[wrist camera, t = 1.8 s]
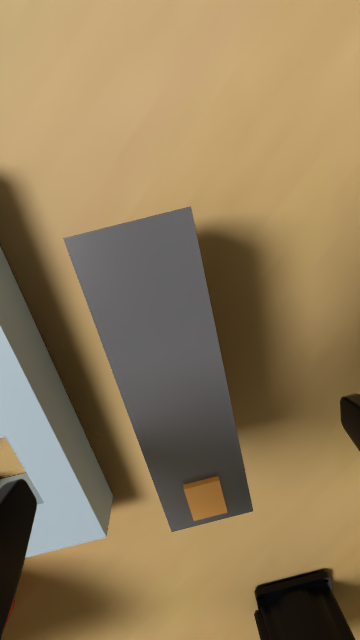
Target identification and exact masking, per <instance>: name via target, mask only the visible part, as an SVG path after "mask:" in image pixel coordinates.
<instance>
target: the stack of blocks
mask: <svg viewBox="0 0 360 640" xmlns="http://www.w3.org/2000/svg"><path fill="white" fill-rule="evenodd" d="M14 603H15V600H14V599H13V603H12V606H11V609H10V612H9V615H8V618H9V616H10V613H11V611H12V608H13V606H14ZM8 618H7V621H8ZM7 621H6V623H7ZM5 626H6V625H5Z"/></svg>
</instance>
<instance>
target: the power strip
mask: <svg viewBox="0 0 360 640" xmlns="http://www.w3.org/2000/svg"><path fill="white" fill-rule="evenodd" d="M63 239H64V242H65V244H66V247H67V250H68V252H69V255H70V258H71V261H72V263H73V266H74V269H75V271H76V274H77V277H78V279H79V282H80V285H81V288H82V290H83V293H84V296H85V298H86V301H87V304H88V307H89V309H90V312H91V315H92V317H93V320H94V323H95V325H96V328H97V331H98V334H99V336H100V339H101V342H102V344H103V347H104V350H105V353H106V355H107V358H108V361H109V363H110V366H111V369H112V371H113V374H114V377H115V380H116V382H117V385H118V388H119V390H120V393H121V396H122V399H123V401H124V404H125V407H126V409H127V412H128V415H129V417H130V420H131V423H132V426H133V428H134V431H135V434H136V436H137V439H138V442H139V445H140V447H141V450H142V453H143V455H144V458H145V461H146V463H147V466H148V469H149V472H150V474H151V477H152V480H153V482H154V485H155V488H156V491H157V493H158V496H159V499H160V501H161V504H162V507H163V509H164V512H165V515H166V518H167V520H168V523H169V526H170V528H171V531H172V532H174V531H177V530H181V529H185V528H189V527H193V526H197V525H201V524H205V523H209V522H213V521H217V520H221V519H224V518H228V517H232V516H236V515H240V514H244V513H248V512H252V511H253V508H252V503H251V498H250V493H249V488H248V484H247V479H246V474H245V469H244V464H243V459H242V454H241V449H240V444H239V439H238V435H237V430H236V425H235V420H234V415H233V410H232V405H231V400H230V395H229V391H228V386H227V381H226V376H225V371H224V366H223V361H222V356H221V351H220V346H219V342H218V337H217V332H216V327H215V322H214V317H213V312H212V307H211V302H210V298H209V293H208V288H207V283H206V278H205V273H204V268H203V263H202V258H201V253H200V249H199V244H198V239H197V234H196V229H195V224H194V219H193V214H192V209H191V207H187V208H183V209H179V210H175V211H171V212H167V213H163V214H159V215H155V216H151V217H147V218H143V219H139V220H135V221H131V222H127V223H123V224H119V225H115V226H111V227H107V228H103V229H99V230H95V231H91V232H87V233H83V234H79V235H75V236H71V237H67V238H63Z"/></svg>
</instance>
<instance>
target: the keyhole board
mask: <svg viewBox="0 0 360 640" xmlns="http://www.w3.org/2000/svg"><path fill="white" fill-rule="evenodd" d="M3 437H6V438H7V440H8V442H9V443H10V445H11V447H12V449H13V450H14V452H15V454H16V455H17V457H18V459H19V461H20V462H21V464H22V466H23V467H24V469H25V471H26V473H23V474H19V475H15V476H11V477H7V478H3V479H0V488H1V487H2V486H3V485H4V484H6V483H7V482H10V481H13V480H17V479H24V480H26V482H27V483H28V485H29V487H30V489H31V490H32V492H33V494H34V495H35V497H36V500H37V509H36V514H35V518H34V522H33V526H32V531H31V535H30V539H29V543H28V548H27V552H26V556H25V558H27V557H31V556H35V555H39V554H43V553H47V552H51V551H55V550H58V549H62V548H66V547H70V546H74V545H78V544H82V543H86V542H90V541H94V540H98V539H102V538H105V537H106V536H107V530H108V525H109V519H110V513H111V507H112V501H113V495H112V492H111V490H110V488H109V486H108V483H107V481H106V479H105V477H104V475H103V472H102V470H101V468H100V466H99V464H98V461H97V459H96V457H95V455H94V452H93V450H92V448H91V446H90V444H89V441H88V439H87V437H86V435H85V433H84V430H83V428H82V426H81V424H80V421H79V419H78V417H77V415H76V413H75V410H74V408H73V406H72V404H71V402H70V399H69V397H68V395H67V393H66V390H65V388H64V386H63V384H62V382H61V379H60V377H59V375H58V373H57V371H56V368H55V366H54V364H53V362H52V359H51V357H50V355H49V353H48V351H47V348H46V346H45V344H44V342H43V340H42V337H41V335H40V333H39V331H38V328H37V326H36V324H35V322H34V320H33V317H32V315H31V313H30V311H29V308H28V306H27V304H26V302H25V300H24V297H23V295H22V293H21V291H20V289H19V286H18V284H17V282H16V280H15V277H14V275H13V273H12V271H11V269H10V266H9V264H8V262H7V260H6V258H5V255H4V253H3V251H2V249H1V246H0V438H3Z"/></svg>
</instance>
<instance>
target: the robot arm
mask: <svg viewBox="0 0 360 640" xmlns="http://www.w3.org/2000/svg"><path fill="white" fill-rule="evenodd" d="M340 409H341V423H342V425H343V428H344V429H345V431H346V432H347V434H348V435H349V437H350V438H351V439H352V441H353V442H354V444H355V445H356V447H357V448H358V450H359V451H360V394H351V395H347V396H343V397H342V398H341V400H340ZM36 509H37V500H36V497H35V495H34V494H33V492H32V490H31V489H30V487H29V485H28V483H27V482H26V480H24V479H17V480H13V481H10V482H7V483H6V484H4V485H3V486H2V487H1V488H0V640H1V637H2V634H3V631H4V628H5V625H6V621H7V618H8V615H9V612H10V609H11V606H12V603H13V599H14V596H15V593H16V590H17V587H18V583H19V580H20V576H21V572H22V569H23V565H24V560H25V556H26V552H27V548H28V543H29V539H30V535H31V531H32V526H33V522H34V518H35V514H36ZM255 597H256V601H257V605H258V610H256V611H255V614H254V616H255V620H256V624H257V628H258V631H259V635H260V639H261V640H355V638H354V636H353V634H352V632H351V630H350V628H349V625H348V623H347V621H346V619H345V617H344V615H343V613H342V611H341V609H340V607H339V605H338V603H337V601H336V599H335V597H334V595H333V591H332V579H331V577H330V575H329V573H328V572H326V571H324V572H319V573H316V574H312V575H308V576H304V577H300V578H296V579H292V580H288V581H284V582H281V583H277V584H273V585H269V586H265V587H261V588H258V589H256V590H255Z"/></svg>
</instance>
